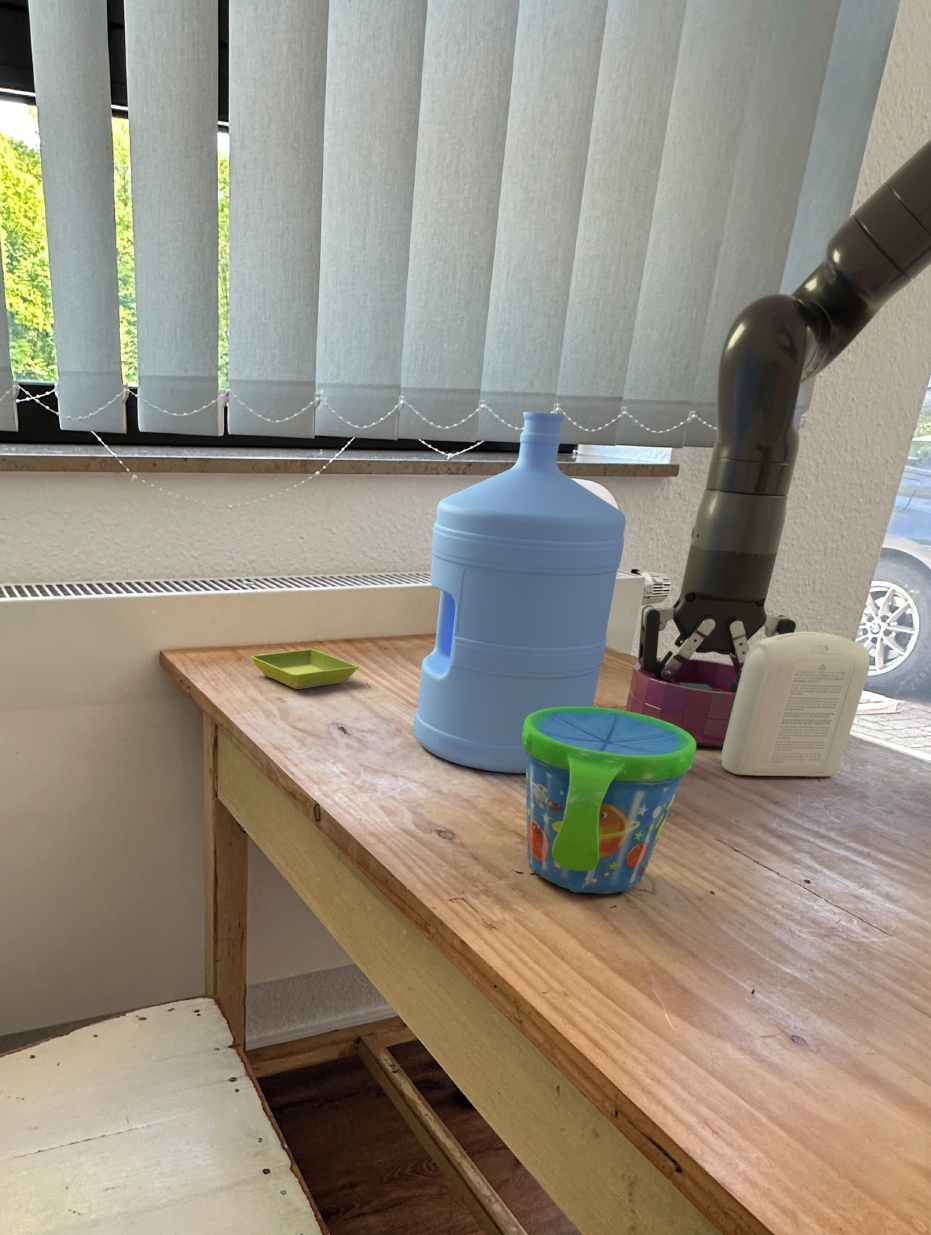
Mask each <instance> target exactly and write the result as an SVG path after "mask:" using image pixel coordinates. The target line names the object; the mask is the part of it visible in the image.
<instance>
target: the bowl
mask: <svg viewBox="0 0 931 1235" xmlns="http://www.w3.org/2000/svg"><path fill="white" fill-rule="evenodd" d="M661 658H662V657H657V659H658V660H661ZM736 677H737V676H736V673H735V670H734V666H733V664H731V663H726V662H721V661H715V660H708V659H701V658H691V657H690V658H689V659H688V660H687V661H686V662H684V663H683V664H682V665H681V667H680V668H679V669H678V671H677V672H676V673H675V674H674V676H673V677H672V678H671V679H672V680H673V681H674V683H673V684H672V683H668V682H665V681H662V680H659V679H656V678H655V674H653V673H651V672H647V671H645V670H644V669H643V667H642V666H641V665H640V664H639V662H638V661H637V662H635V664H634V666H633V670H632V674H631V680H630V685H629V691H628V696H627V702H626V706H625V711H628V712H632V713H638V714H642V715H646V716H649V717H653V718H656V719H659V720H663V721H665V722H668V723H670V724H673V725H675V726H677V727H679V728H681V729H683V730H685V731H686V732H687V733H689V734H690V735H691V736H692V737H693V738H694V739H695V742H696V747H704V748H722V749H723V746H724V741H725V737H726V733H727V729H728V725H729V721H730V717H731V713H732V709H733V705H734V701H735V697H736V693H731V692H730V689H731V684H732V681H736ZM679 683H693V684H706V685H708V686H709V687H710V688H711V689H712V690H713V691H708V690H702V689H695V688H689V687H685V686H680V685H679Z"/></svg>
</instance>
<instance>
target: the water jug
mask: <svg viewBox="0 0 931 1235" xmlns="http://www.w3.org/2000/svg"><path fill="white" fill-rule="evenodd" d="M522 417H523V419H524V423H523V430H522V432H521V433H520V437H519V442H520V446H519V453H518V458H517V461H516V462H515V464H514V465H513V466H512V467H511V468H509V469H507V470H505V471H502V472H501V473H498V474H496V475H494V476H491V477H489V478H487V479H485V480H482V481H480V482H478V483H475V484H473V485H471V486H469V487H467V488H465V489H462V490H460V491H457V492H455V493H453V494H451V495H448V496H446V497H444V498H442V499H441V500H440V501H439V502H438V504H437V508H436V517H435V522H434V525H433V530H432V540H431V553H432V557H431V566H430V567H431V568H430V575H429V583H430V584H431V585H432V586H433V587H434V588H435V589H437V590H439V591H440V594H439V595H440V596H439V604H438V614H437V623H436V634H435V642H434V648H433V650H432V651H431V652H430V653H429V654H428V655H427V656H425V658H424V659H423V661H421V668H420V675H419V686H418V687H419V688H418V698H417V707H416V709H415V712H414V719H413V721H414V722H413V732H414V736H415V738H416V740H417V742H418V743H419V744H420V745H421V746H422V747H423V748H424V749H425V750H426V751H428V752H429V753H431V754H434V755H435V756H437V757H438V758H440V759H443V760H446V761H448V762H451V763H454V764H457V765H460V766H464V767H467V768H471V769H472V768H473V769H478V770H482V771H483V770H484V771H489V772H498V773H506V774H526V769H527V766H526V765H527V755H526V751H525V748H524V746H523V743H522V731H523V726H524V722H525V719H526V717H527V716H529V715H530V714H532V713H534V712H536V711H539V710H543V709H548V708H557V707H574V706H576V707H594V704H595V698H596V693H597V687H598V681H599V675H600V669H601V667H602V666H603V662H604V658H605V652H606V647H607V630H608V625H609V620H610V613H611V608H612V602H613V596H614V591H615V586H616V579H617V574H618V569H619V568H620V567H621V566H620V565H621V562H622V558H623V550H624V546H625V544H624V543H625V537H624V533H625V528H626V523H627V518H626V515H625V513H623V511H621V510H620V509H618V508H617V507H615V506H613V505H612V504H610V502H608V501H606V500H604V499H603V498H602V497H600V496H599V495H597V494H596V493H594V492H592V491H591V490H589V489H587V487H585V486H584V485H581V484H580V483H579V482H577V481H575V480H574V479H572V478H571V477H570V476H569V475H566V474H565V473H563V472H562V470H560V468H559V464H558V452H559V446H560V444H561V440H562V435H561V434H560V433H561V424H562V421H563V420H564V418H565V413H552V412H537V411H536V412H535V411H523V414H522Z"/></svg>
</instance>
